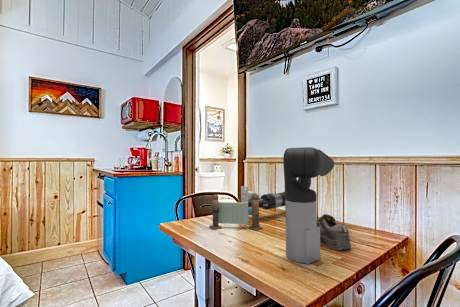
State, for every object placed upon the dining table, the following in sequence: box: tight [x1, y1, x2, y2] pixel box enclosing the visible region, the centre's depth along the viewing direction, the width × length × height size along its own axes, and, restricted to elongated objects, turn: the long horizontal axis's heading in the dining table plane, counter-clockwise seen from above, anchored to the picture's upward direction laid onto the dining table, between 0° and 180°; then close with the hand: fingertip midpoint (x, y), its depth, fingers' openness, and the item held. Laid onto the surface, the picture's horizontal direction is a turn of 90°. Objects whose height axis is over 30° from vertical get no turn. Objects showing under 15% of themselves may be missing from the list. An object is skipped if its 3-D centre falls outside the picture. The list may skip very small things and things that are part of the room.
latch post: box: [208, 193, 222, 231], centre depth 110 cm, size 4×4×15 cm
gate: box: [218, 200, 249, 227], centre depth 111 cm, size 15×2×10 cm, turn 78°
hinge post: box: [248, 192, 263, 231], centre depth 108 cm, size 4×4×15 cm
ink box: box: [240, 185, 257, 216], centre depth 139 cm, size 9×5×15 cm, turn 25°
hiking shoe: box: [317, 213, 352, 251], centre depth 91 cm, size 9×21×12 cm, turn 19°
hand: (244, 205), depth 119 cm, fingers closed
